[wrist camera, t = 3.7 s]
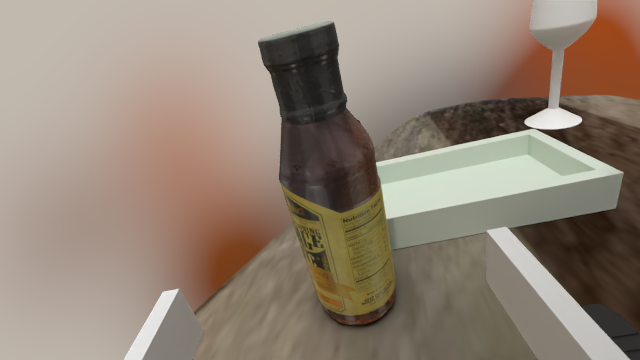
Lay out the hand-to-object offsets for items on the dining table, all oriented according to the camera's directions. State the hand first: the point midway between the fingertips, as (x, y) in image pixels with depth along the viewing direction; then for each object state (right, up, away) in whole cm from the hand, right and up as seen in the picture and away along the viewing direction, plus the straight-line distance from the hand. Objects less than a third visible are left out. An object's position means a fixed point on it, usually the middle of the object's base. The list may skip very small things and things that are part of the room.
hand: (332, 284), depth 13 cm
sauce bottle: (+3, -5, +12) cm, 13 cm away
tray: (+15, +3, +20) cm, 25 cm away
